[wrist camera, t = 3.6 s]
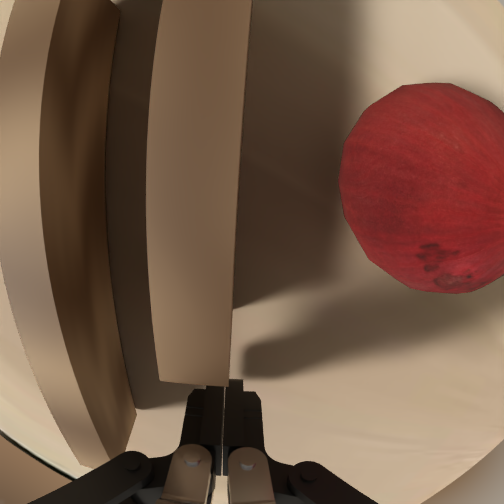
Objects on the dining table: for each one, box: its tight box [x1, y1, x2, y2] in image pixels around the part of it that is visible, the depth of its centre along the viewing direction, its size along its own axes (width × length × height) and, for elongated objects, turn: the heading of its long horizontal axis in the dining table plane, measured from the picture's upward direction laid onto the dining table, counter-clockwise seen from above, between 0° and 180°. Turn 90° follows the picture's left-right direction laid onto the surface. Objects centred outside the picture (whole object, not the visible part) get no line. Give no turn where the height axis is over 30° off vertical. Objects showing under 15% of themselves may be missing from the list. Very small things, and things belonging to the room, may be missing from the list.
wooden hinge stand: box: [146, 0, 253, 387], centre depth 7 cm, size 8×15×5 cm, turn 176°
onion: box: [338, 83, 504, 294], centre depth 7 cm, size 6×6×8 cm
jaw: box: [0, 0, 137, 469], centre depth 8 cm, size 20×2×5 cm, turn 176°
